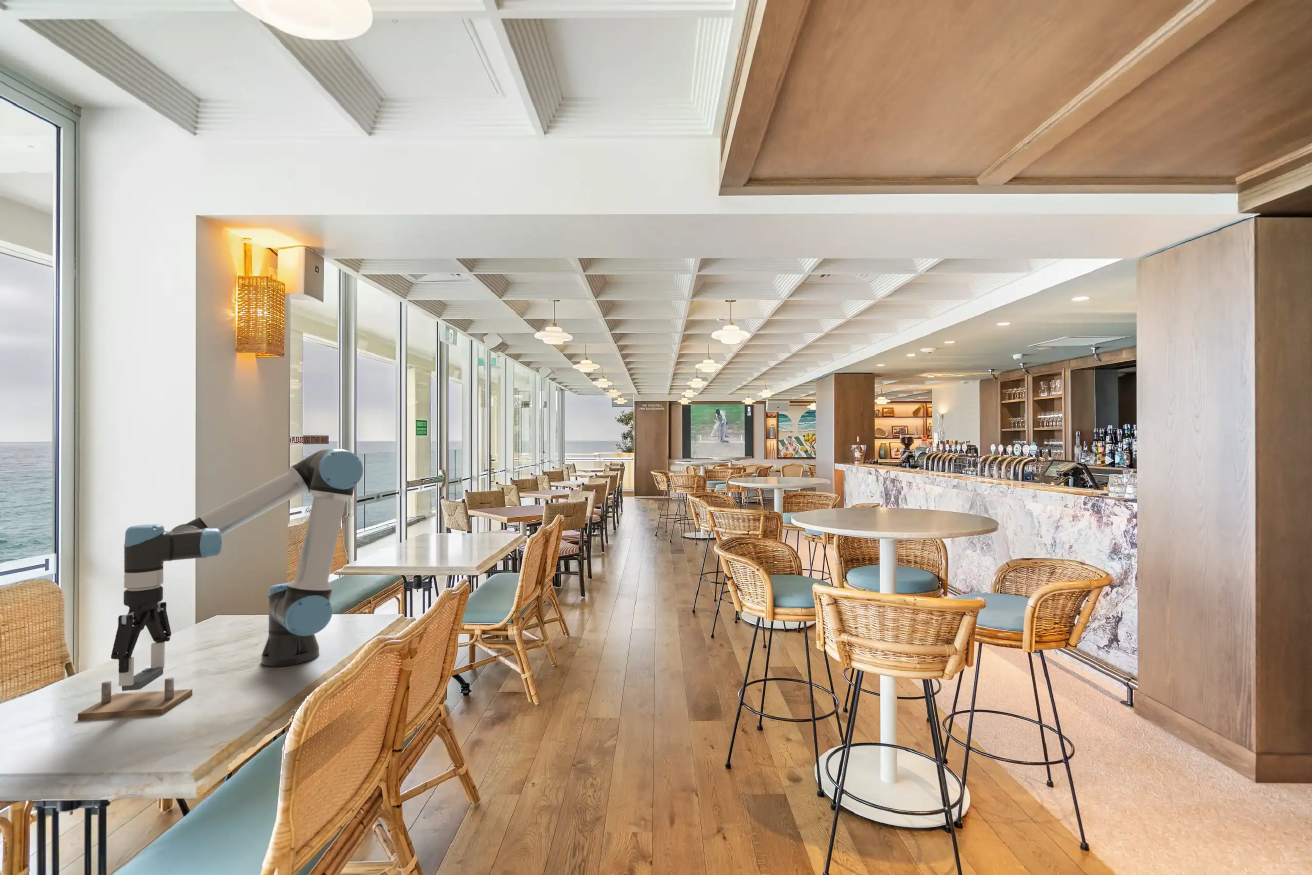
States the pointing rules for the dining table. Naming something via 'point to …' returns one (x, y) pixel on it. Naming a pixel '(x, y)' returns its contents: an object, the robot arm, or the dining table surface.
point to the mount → (135, 702)
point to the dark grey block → (144, 678)
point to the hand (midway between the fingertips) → (142, 676)
